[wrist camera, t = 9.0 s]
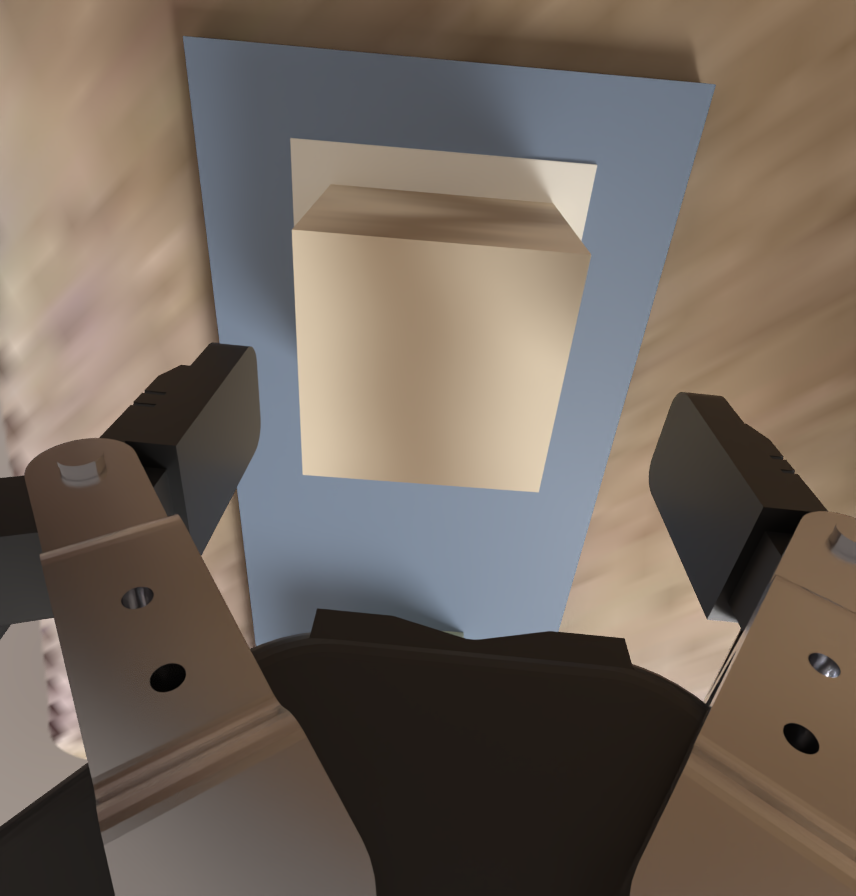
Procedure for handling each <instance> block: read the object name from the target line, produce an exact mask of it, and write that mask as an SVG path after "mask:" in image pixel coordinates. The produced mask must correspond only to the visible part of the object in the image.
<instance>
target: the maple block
mask: <svg viewBox="0 0 856 896" xmlns="http://www.w3.org/2000/svg"><path fill="white" fill-rule="evenodd" d="M292 247H293V269H294V292H295V314H296V336H297V359H298V381H299V404H300V426H301V448H302V471H303V475H311V476H324V477H338V478H351V479H364V480H378V481H391V482H405V483H418V484H432V485H445V486H459V487H472V488H486V489H499V490H513V491H526V492H539V489H540V484H541V480H542V475H543V471H544V466H545V462H546V457H547V453H548V448H549V444H550V439H551V435H552V430H553V426H554V421H555V417H556V412H557V408H558V403H559V399H560V394H561V390H562V385H563V381H564V376H565V372H566V367H567V362H568V358H569V353H570V349H571V344H572V340H573V335H574V331H575V326H576V322H577V317H578V313H579V308H580V304H581V299H582V295H583V290H584V286H585V281H586V277H587V272H588V268H589V263H590V259H591V254H590V252H589V251H588V250H587V248H586V247H585V245H584V244H583V243H582V241H581V240H580V239H579V237H578V236H577V235H576V233H575V232H574V231H573V229H572V228H571V227H570V225H569V224H568V222H567V221H566V220H565V218H564V217H563V216H562V214H561V213H560V212H559V210H558V209H557V208H556V206H555V205H554V204H553V203H544V202H532V201H520V200H509V199H497V198H485V197H474V196H462V195H451V194H439V193H427V192H416V191H404V190H392V189H381V188H369V187H358V186H346V185H334V184H331V185H330V186H329V187H328V188H327V189H326V190H325V192H324V193H323V194H322V195H321V196H320V197H319V199H318V200H317V201H316V202H315V203H314V204H313V205H312V207H311V208H310V209H309V210H308V211H307V212H306V214H305V215H304V216H303V217H302V218H301V219H300V221H299V222H298V223H297V224H296V225H295V226H294V228H293V229H292Z"/></svg>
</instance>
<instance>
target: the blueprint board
mask: <svg viewBox="0 0 856 896" xmlns="http://www.w3.org/2000/svg"><path fill="white" fill-rule="evenodd" d="M183 42H184V50H185V58H186V67H187V75H188V83H189V92H190V100H191V108H192V117H193V125H194V133H195V142H196V150H197V158H198V167H199V175H200V184H201V192H202V200H203V209H204V217H205V225H206V234H207V242H208V250H209V259H210V267H211V275H212V284H213V292H214V300H215V309H216V317H217V325H218V334H219V342H220V343H221V344H231V345H241V346H250V347H253V348H254V350H255V353H256V358H257V370H258V385H259V401H260V416H261V429H260V437H259V442H258V446H257V449H256V451H255V453H254V455H253V457H252V459H251V461H250V463H249V465H248V467H247V469H246V471H245V473H244V475H243V477H242V478H241V480H240V482H239V484H238V486H237V492H238V501H239V509H240V517H241V526H242V534H243V542H244V551H245V559H246V568H247V576H248V584H249V593H250V601H251V609H252V618H253V626H254V634H255V643H256V646H258V645H260V644H263V643H266V642H269V641H272V640H275V639H278V638H282V637H286V636H291V635H295V634H301V633H308V632H311V630H312V626H313V622H314V618H315V614H316V610H317V608H319V609H330V610H340V611H350V612H360V613H370V614H381V615H391V616H395V617H399V618H402V619H405V620H408V621H411V622H415V623H418V624H421V625H424V626H427V627H431V628H434V629H437V630H440V631H450V632H464V638H466V639H473V640H477V639H487V638H496V637H504V636H512V635H521V634H529V633H537V632H546V631H554V632H558V631H559V627H560V624H561V620H562V617H563V613H564V610H565V606H566V603H567V599H568V596H569V592H570V589H571V585H572V582H573V579H574V575H575V572H576V568H577V565H578V561H579V558H580V554H581V551H582V547H583V544H584V540H585V537H586V533H587V530H588V526H589V523H590V520H591V516H592V513H593V509H594V506H595V502H596V499H597V495H598V492H599V488H600V485H601V481H602V478H603V474H604V471H605V468H606V464H607V461H608V457H609V454H610V450H611V447H612V443H613V440H614V436H615V433H616V429H617V426H618V422H619V419H620V416H621V412H622V409H623V405H624V402H625V398H626V395H627V391H628V388H629V384H630V381H631V377H632V374H633V370H634V367H635V364H636V360H637V357H638V353H639V350H640V346H641V343H642V339H643V336H644V332H645V329H646V325H647V322H648V318H649V315H650V311H651V308H652V305H653V301H654V298H655V294H656V291H657V287H658V284H659V280H660V277H661V273H662V270H663V266H664V263H665V259H666V256H667V253H668V249H669V246H670V242H671V239H672V235H673V232H674V228H675V225H676V221H677V218H678V214H679V211H680V207H681V204H682V201H683V197H684V194H685V190H686V187H687V183H688V180H689V176H690V173H691V169H692V166H693V162H694V159H695V155H696V152H697V148H698V145H699V142H700V138H701V135H702V131H703V128H704V124H705V121H706V117H707V114H708V110H709V107H710V103H711V100H712V96H713V93H714V90H715V86H716V85H715V84H706V83H696V82H685V81H674V80H663V79H652V78H641V77H630V76H619V75H608V74H597V73H586V72H575V71H564V70H553V69H542V68H531V67H520V66H509V65H498V64H487V63H476V62H465V61H454V60H443V59H432V58H421V57H410V56H399V55H388V54H377V53H366V52H355V51H344V50H333V49H322V48H311V47H300V46H289V45H278V44H267V43H256V42H245V41H234V40H223V39H212V38H201V37H188V36H183ZM331 184H334V185H346V186H358V187H369V188H381V189H392V190H404V191H416V192H427V193H439V194H451V195H462V196H474V197H485V198H497V199H509V200H520V201H532V202H544V203H553V204H554V205H555V206H556V208H557V209H558V210H559V212H560V213H561V214H562V216H563V217H564V218H565V220H566V221H567V222H568V224H569V225H570V227H571V228H572V229H573V231H574V232H575V233H576V235H577V236H578V237H579V239H580V240H581V241H582V243H583V244H584V245H585V247H586V248H587V250H588V251H589V252H590V254H591V259H590V263H589V268H588V272H587V277H586V281H585V286H584V290H583V295H582V299H581V304H580V308H579V313H578V317H577V322H576V326H575V331H574V335H573V340H572V344H571V349H570V353H569V358H568V362H567V367H566V372H565V376H564V381H563V385H562V390H561V394H560V399H559V403H558V408H557V412H556V417H555V421H554V426H553V430H552V435H551V439H550V444H549V448H548V453H547V457H546V462H545V466H544V471H543V475H542V480H541V484H540V489H539V492H526V491H513V490H499V489H486V488H472V487H459V486H445V485H432V484H418V483H405V482H391V481H378V480H364V479H351V478H338V477H324V476H311V475H303V471H302V448H301V426H300V404H299V381H298V359H297V336H296V314H295V292H294V269H293V247H292V229H293V228H294V226H295V225H296V224H297V223H298V222H299V221H300V219H301V218H302V217H303V216H304V215H305V214H306V212H307V211H308V210H309V209H310V208H311V207H312V205H313V204H314V203H315V202H316V201H317V200H318V199H319V197H320V196H321V195H322V194H323V193H324V192H325V190H326V189H327V188H328V187H329V186H330V185H331Z"/></svg>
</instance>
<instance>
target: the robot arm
mask: <svg viewBox="0 0 856 896" xmlns="http://www.w3.org/2000/svg"><path fill="white" fill-rule="evenodd" d="M260 429H261V416H260V401H259V385H258V370H257V358H256V353H255V350H254V348H253V347H250V346H241V345H231V344H221V343H210V344H209V345H208V346H207V347H206V349H205V350H204V351H203V352H202V353H201V354H200V355H199V357H198V358H197V359H196V360H195V361H194V362H193V363H192V364H191V366H187V365H180V366H178V367H176V368H174V369H172V370H170V371H168V372H166V373H163V374H161V375H159V376H158V377H157V378H156V379H155V380H154V381H153V382H152V383H151V384H150V385H149V386H148V387H147V388H146V389H145V393H142V394H141V395H140V396H139V397H138V398H137V399H136V400H135V401H134V404H133V405H130V406H129V407H128V408H127V409H126V410H125V411H124V413H123V414H122V415H121V416H120V417H119V418H118V419H117V420H116V421H115V422H114V423H113V424H112V425H111V426H110V427H109V428H108V429H107V430H106V431H105V432H104V434H103V435H102V436H101V437H100V438H88V439H80V440H74V441H70V442H66V443H63V444H60V445H57V446H54V447H52V448H50V449H48V450H46V451H44V452H42V453H41V454H39V455H38V456H36V457H35V458H34V459H33V460H32V461H31V462H30V463H29V464H28V466H27V467H26V470H25V473H24V475H25V476H17V477H7V478H0V639H1V638H2V636H3V635H4V634H5V632H6V631H7V629H8V628H9V626H10V625H11V624H16V623H22V622H29V621H35V620H42V619H48V618H54V620H55V624H56V629H57V633H58V637H59V641H60V646H61V650H62V654H63V658H64V663H65V667H66V671H67V675H68V680H69V684H70V688H71V692H72V697H73V701H74V705H75V710H76V714H77V718H78V722H79V727H80V731H81V735H82V739H83V744H84V748H85V752H86V756H87V761H88V763H87V764H85V765H84V766H82V767H81V768H80V769H78V770H77V771H75V772H74V773H73V774H72V775H70V776H69V777H67V778H66V779H65V780H63V781H62V782H60V783H59V784H58V785H57V786H55V787H54V788H52V789H51V790H50V791H48V792H47V793H45V794H44V795H43V796H42V797H40V798H39V799H37V800H36V801H35V802H33V803H32V804H30V805H29V806H28V807H26V808H25V809H24V810H22V811H21V812H19V813H18V814H17V815H15V816H14V817H13V818H11V819H10V820H8V821H7V822H6V823H4V824H3V825H2V826H0V896H856V518H853V517H850V516H847V515H844V514H840V513H835V512H828V511H827V509H826V508H825V507H824V506H823V504H822V503H821V502H820V501H819V500H818V498H817V497H816V496H815V495H814V493H813V492H812V491H811V490H810V489H809V487H808V486H807V485H806V484H805V482H804V481H803V480H802V479H801V478H800V476H799V475H798V474H794V472H795V470H794V469H793V468H792V467H791V465H790V464H789V463H788V462H787V460H783V456H782V454H781V453H780V452H779V451H778V449H777V448H776V447H775V446H774V445H773V443H772V442H771V441H770V440H769V439H768V438H766V437H765V436H763V435H762V434H760V433H759V432H758V431H756V430H755V429H753V428H752V427H750V426H749V425H747V424H744V422H743V421H742V420H741V419H740V417H739V416H738V415H737V413H736V412H735V411H734V410H733V408H732V407H731V406H730V405H729V403H728V402H727V401H726V399H725V398H724V397H722V396H715V395H705V394H696V393H686V392H680V393H679V394H677V395H676V397H675V398H674V400H673V402H672V404H671V406H670V409H669V412H668V415H667V418H666V421H665V423H664V426H663V429H662V432H661V435H660V438H659V440H658V443H657V446H656V449H655V452H654V454H653V457H652V460H651V464H650V469H649V487H650V491H651V494H652V496H653V498H654V501H655V503H656V505H657V507H658V510H659V512H660V514H661V516H662V519H663V521H664V523H665V525H666V528H667V530H668V532H669V534H670V537H671V539H672V541H673V544H674V546H675V548H676V550H677V553H678V555H679V557H680V559H681V562H682V564H683V566H684V568H685V571H686V573H687V575H688V577H689V580H690V582H691V584H692V586H693V589H694V591H695V593H696V595H697V598H698V600H699V602H700V604H701V607H702V609H703V611H704V614H705V616H706V618H707V620H717V621H727V622H737V623H739V625H740V627H741V629H740V631H739V633H738V635H737V637H736V638H735V640H734V642H733V644H732V646H731V648H730V650H729V652H728V654H727V656H726V658H725V660H724V662H723V664H722V666H721V668H720V670H719V672H718V674H717V676H716V678H715V680H714V682H713V684H712V686H711V688H710V690H709V692H708V694H707V696H706V697H705V699H704V701H701V700H700V699H699V698H697V697H696V696H695V695H693V694H692V693H690V692H689V691H687V690H685V689H684V688H682V687H681V686H679V685H678V684H676V683H674V682H672V681H670V680H668V679H666V678H664V677H663V676H661V675H659V674H656V673H654V672H652V671H649V670H647V669H644V668H642V667H639V666H636V665H633V664H632V663H631V659H630V656H629V652H628V649H627V645H626V642H625V638H615V637H605V636H595V635H585V634H574V633H564V632H554V631H546V632H537V633H529V634H521V635H512V636H504V637H496V638H487V639H477V640H473V639H466V638H462V637H459V636H456V635H453V634H450V633H446V632H443V631H440V630H437V629H434V628H431V627H427V626H424V625H421V624H418V623H415V622H411V621H408V620H405V619H402V618H399V617H395V616H391V615H381V614H370V613H360V612H350V611H340V610H330V609H319V608H317V610H316V614H315V618H314V622H313V626H312V630H311V632H308V633H301V634H295V635H291V636H286V637H282V638H278V639H275V640H272V641H269V642H266V643H263V644H260V645H258V646H256V647H254V648H251V649H250V648H249V646H248V644H247V643H246V641H245V639H244V637H243V635H242V633H241V631H240V629H239V627H238V625H237V624H236V622H235V620H234V618H233V616H232V614H231V612H230V610H229V608H228V606H227V604H226V603H225V601H224V599H223V597H222V595H221V593H220V591H219V589H218V587H217V585H216V584H215V582H214V580H213V578H212V576H211V574H210V572H209V570H208V568H207V566H206V564H205V563H204V561H203V559H202V557H201V555H202V553H203V551H204V549H205V548H206V546H207V544H208V542H209V540H210V538H211V536H212V534H213V532H214V530H215V528H216V526H217V524H218V523H219V521H220V519H221V517H222V515H223V513H224V511H225V509H226V507H227V505H228V503H229V501H230V500H231V498H232V496H233V494H234V492H235V490H236V488H237V486H238V484H239V482H240V480H241V478H242V477H243V475H244V473H245V471H246V469H247V467H248V465H249V463H250V461H251V459H252V457H253V455H254V453H255V451H256V449H257V446H258V442H259V437H260Z"/></svg>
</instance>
